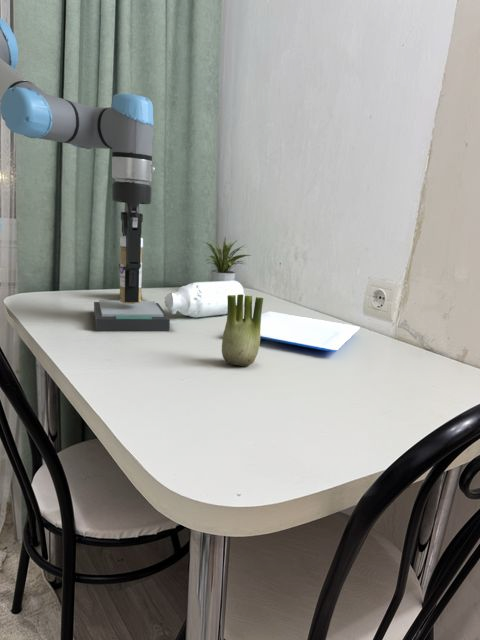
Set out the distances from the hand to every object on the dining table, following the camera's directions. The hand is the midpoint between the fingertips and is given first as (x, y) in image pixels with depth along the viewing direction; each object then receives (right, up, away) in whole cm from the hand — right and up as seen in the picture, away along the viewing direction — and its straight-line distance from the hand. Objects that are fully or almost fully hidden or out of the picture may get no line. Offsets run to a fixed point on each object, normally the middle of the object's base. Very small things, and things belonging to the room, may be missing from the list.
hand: (130, 299), depth 106 cm
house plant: (+15, +6, +43) cm, 46 cm away
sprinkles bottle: (0, -1, 0) cm, 1 cm away
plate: (+35, -8, +1) cm, 36 cm away
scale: (0, -5, +1) cm, 5 cm away
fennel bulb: (+24, -13, -20) cm, 34 cm away
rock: (-6, +2, +24) cm, 25 cm away
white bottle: (+15, -3, +12) cm, 19 cm away
